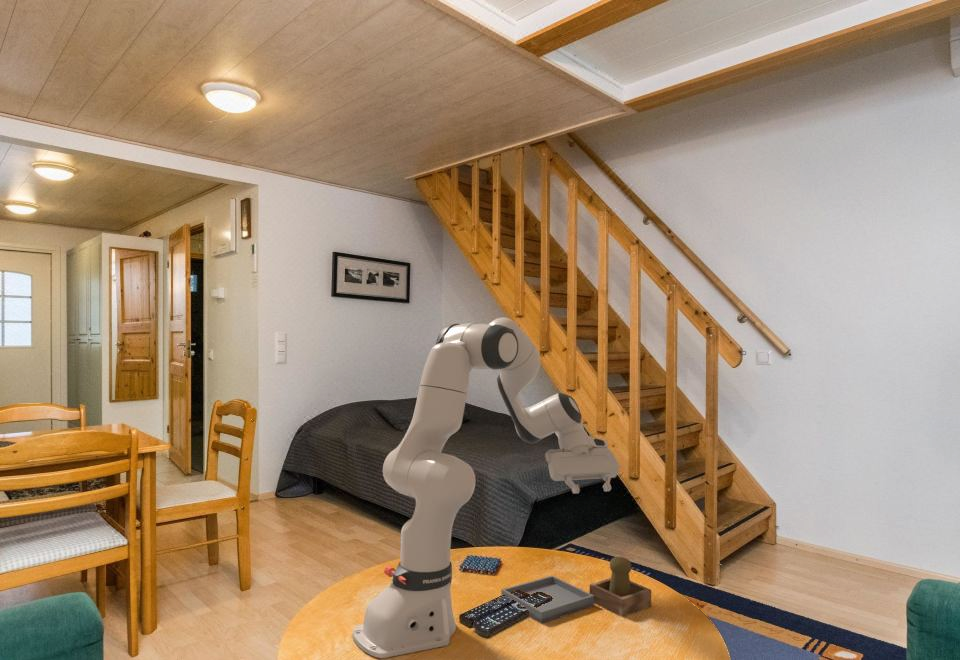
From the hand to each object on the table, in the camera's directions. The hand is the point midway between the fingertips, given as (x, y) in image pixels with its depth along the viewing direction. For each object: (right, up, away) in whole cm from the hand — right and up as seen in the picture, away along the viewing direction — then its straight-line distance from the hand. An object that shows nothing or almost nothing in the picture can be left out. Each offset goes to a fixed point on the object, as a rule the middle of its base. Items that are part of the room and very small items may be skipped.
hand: (592, 491), depth 158 cm
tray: (-14, -23, -14) cm, 31 cm away
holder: (+4, -24, -14) cm, 28 cm away
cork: (+4, -24, -14) cm, 28 cm away
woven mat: (-30, -25, +9) cm, 40 cm away
